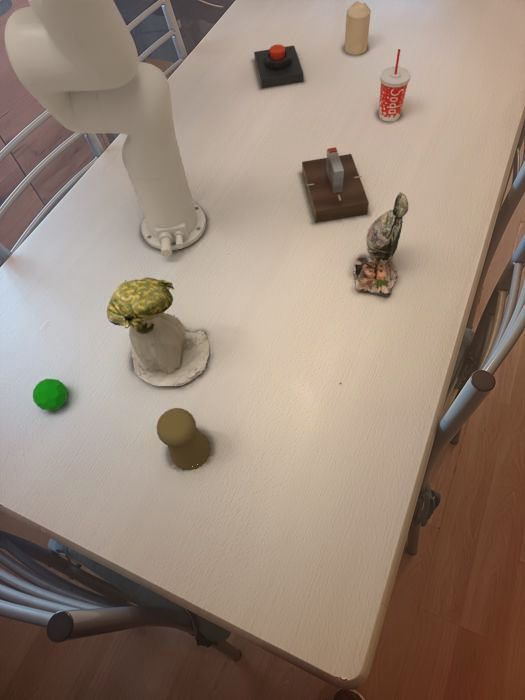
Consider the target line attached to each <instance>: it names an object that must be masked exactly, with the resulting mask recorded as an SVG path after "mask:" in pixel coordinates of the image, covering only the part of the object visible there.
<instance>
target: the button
mask: <svg viewBox="0 0 525 700" xmlns="http://www.w3.org/2000/svg"><path fill="white" fill-rule="evenodd" d="M285 47H286V46H284V44H273V45H272V46H270V47H269V49H270V58H271V59H275V60H278V59H282V58H284V57H285Z"/></svg>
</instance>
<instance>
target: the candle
mask: <svg viewBox="0 0 525 700" xmlns="http://www.w3.org/2000/svg"><path fill="white" fill-rule="evenodd" d="M371 14H372V13H371V8H370V7H369V5H368V4H367V3H366V2H360V1H359V0H358V1H357V0H356V1H355V2H353V4H351V5H350V6H349V7H348V9H347V10H346V17H345V32H344V33H345V34H344V52H346V53H347V54H349V55H352V56H357V55H362V54H364V53H365V52H366V51H367V49H368V43H369V42H368V41H369V34H370V33H369V32H370V23H371V22H370V21H371Z"/></svg>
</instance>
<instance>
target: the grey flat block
mask: <svg viewBox="0 0 525 700" xmlns="http://www.w3.org/2000/svg"><path fill="white" fill-rule="evenodd" d="M339 156H340V155H339V152H338V149H337V147H336V146H335V147H329V148H327V149H326V158H327V161H326V172H327V175H328V178H329V181H330V185H331V188H332V191H333V193H338V192H342V191H343V177H344V169H343V166H342V163H341V160H340V157H339Z"/></svg>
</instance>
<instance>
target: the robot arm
mask: <svg viewBox="0 0 525 700" xmlns="http://www.w3.org/2000/svg"><path fill="white" fill-rule="evenodd" d="M27 2H28V4H29V6H26V7H22V8H19V9H17V10H15V11H14V12H12V14H11V15H10V16H9V18H8V19H7V21H6V24H5V26H4V45H5V50H6V55H7V57H8V60H9V63H10V65H11V67H12V70H13V71H14V73H15V75H16V77H17V78H18V80H19V82H20V83H21V84H22V86H23V87H24V88H25V89H26V91H28V93H29V94H31V95H32V97H33V98H35V100H37V102H38V103H39V104H40V105H41V106H42V107H43V108H44V109H45V110H46V111H47V112H48V113H49V114H50V115H51V116H52V117H53V118H54V119H55V120H56V121H57V122H58V123H59V124H60V125H61V126H62V127H63V128H65V129H67V130H68V131H70V132H71V133H72V132H73V133H77V134H115V135H121V134H122V135H126V137H125V139H124V142H123V145H122V150H121V159H122V162H123V166H124V168H125V170H126V172H127V175H128V179H129V181H130V183H131V186H132V188H133V191H134V194H135V196H136V199H137V201H138V204H139V206H140V210H141V211H142V214H143V219H142V221H141V225H140V226H141V227H140V229H141V233H142V236H143V238H144V240H145V242H146V243H147V244H149V246H151V247H153V248H154V249H157V250H160V253H161V256H163V257H165V258H168V257H169V258H170V257H171V256H173V251H177V250H182V249H184V248H187V247H189V246H191V245H192V244H195V242H197V241H198V240H199V239H200V238H201V237H202V235H203V234H204V233H205V230H206V227H207V219H206V215H205V212H204V210H203V209H202V207H200V206H199V205H198V204H197V203H195V202H194V200H193V197H192V193H191V190H190V185H189V182H188V178H187V173H186V171H185V170H186V169H185V167H184V163H183V158H182V154H181V151H180V147H179V144H178V139H177V135H176V129H175V124H174V116H173V106H172V104H173V103H172V95H171V88H170V83H169V80H168V78H167V76H166V74H165V73H164V71H162V70H161V69H160V68H159V67H157V66H156V65H154V64H152V63H149V62H145V61H139V54H138V49H137V47H136V43H135V41H134V40H135V39H134V38H133V36H132V33H131V31H130V29H129V28H128V25H127V24H126V22H125V20H124V18H123V16H122V14H121V12H120V10H119V9H118V7H117V4H116V3H115V1H114V0H27Z"/></svg>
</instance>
